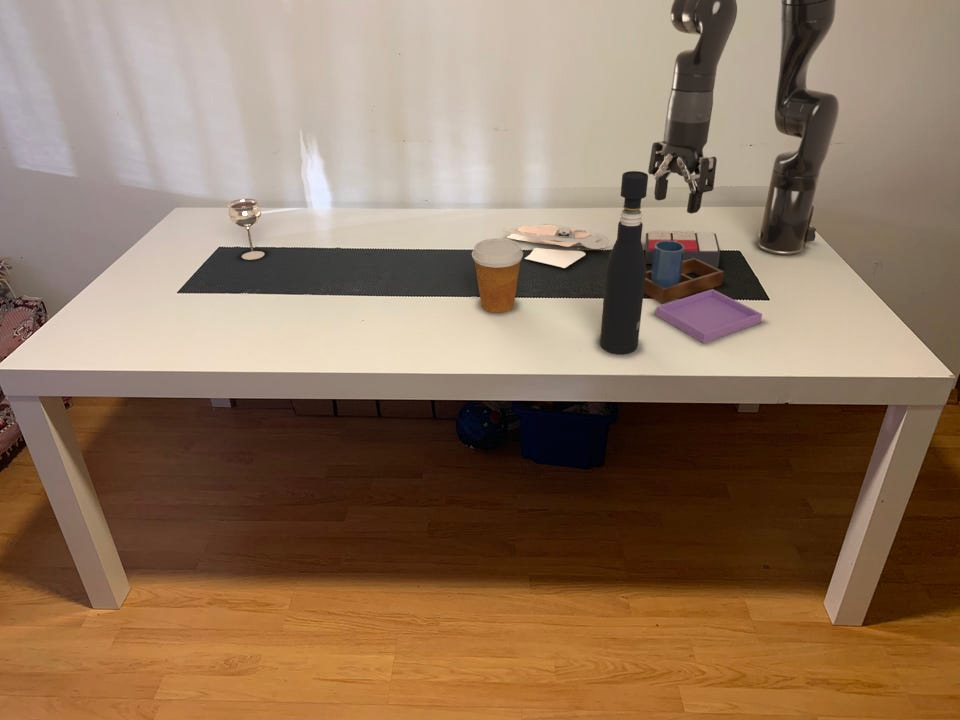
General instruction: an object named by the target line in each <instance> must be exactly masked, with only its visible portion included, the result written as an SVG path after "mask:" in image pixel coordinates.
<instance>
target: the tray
mask: <svg viewBox="0 0 960 720" xmlns="http://www.w3.org/2000/svg"><path fill="white" fill-rule="evenodd" d="M655 316H656V317H658V318H659V319H661V320H663V321H665V322H667V323H668V324H670V325H672V326H673V327H675V328H676V329H678V330H680V331H681V332H683V333H685V334H687V335H688V336H690V337H692V338H694V339H695V340H697V341H699V342H700V343H702V344H705V343H707V342H711V341H714V340H716V339H719V338H722V337H724V336H727V335H730V334H733V333H735V332H738V331H742V330H745V329H746V328H749V327H752V326H756V325H757V324H761V322H762V317H763V313H761V312H759V311H757V310H756V309H753V308H751V307H749V306H747V305H745V304H744V303H741V302H740V301H737V300H736V299H733V298H731V297H730V296H727V295H725V294H723V293H722V292H719V291H718V290H715V289H714V288H710V289H707V290H704V291H701V292H698V293H694V294H691V295H688V296H685V297H682V298H679V299H676V300H672V301H669V302H666V303H663V304H660V305H658V306H657V305H656V308H655Z"/></svg>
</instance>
